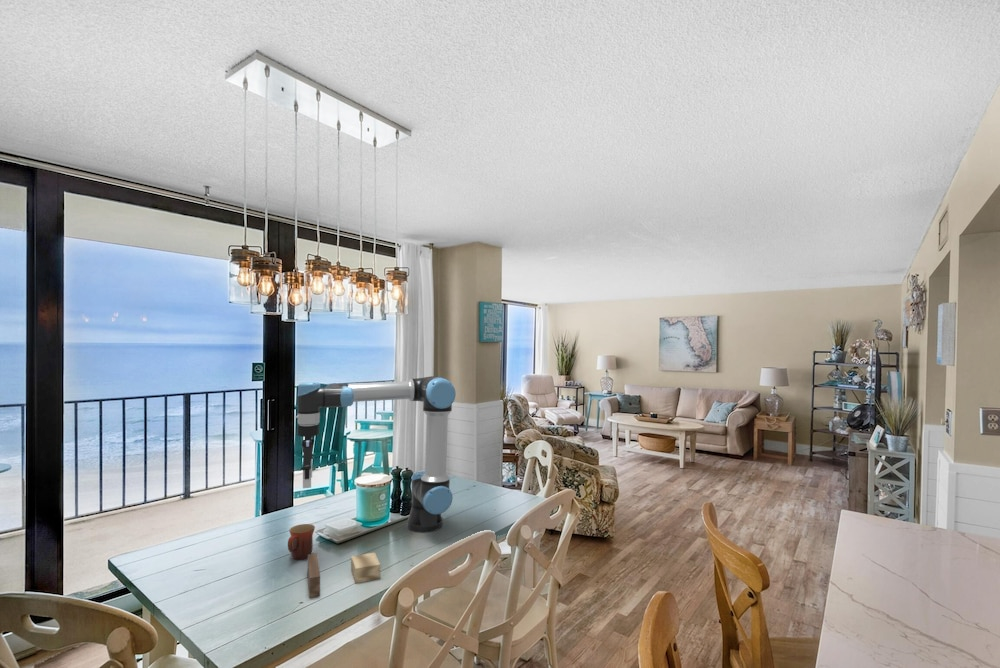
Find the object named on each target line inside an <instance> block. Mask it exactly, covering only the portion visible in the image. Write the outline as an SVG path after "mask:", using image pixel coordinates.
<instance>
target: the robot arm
mask: <svg viewBox="0 0 1000 668" xmlns="http://www.w3.org/2000/svg"><path fill="white" fill-rule="evenodd" d="M456 394H457V393H456V388H455V386H454V384H453V383H452V382H451V381H449V380H448V379H446V378H444V377H437V376H425V377H418V378H417V377H416V378H409V380H405V381H384V382H383V381H382V382H381V381H380V382H358V383H357V382H355V383H351V382H350V383H335V382H334V383H329V384H327V385H326V386H325V387H323V386H321V383H320V382H319V381H303V382H301V383H299V384H298V388H297V415H296V416H295V418H296V419H297V424H298V425H297V426H296V428H297V429H296V432H297V433H296V434H297V436H298V437H304V439H302V441H301V443H302V444H301V445H302V453H303V460H302V461H303V464H302V465H303V466H302V467H301V468H300V471H302V489H309V488H312V478H313V460H315V456H314V455H313V452H314V445H315V439H313V437H316V436H318V435H320V419H321V412H320V411H321V410H320V408H345V407H351V406H352V405H353V404H354V403H358V402H375V401H393V400H394V401H395V400H409V401H410V402H422V404H423V405H422V406H423V408H422V410H423V411H422V412H424V414H426V426H425V427H426V428H425V454H424V457H425V460H424V461H425V462H424V470H422V471H416V472H414V473H413V474H412V477H411V509H410V512H409V515H408V518H407V524H406V526H407V529H408V530H410V531H411V532H418V533H428V532H434V531H437V530H439V529H441V528H442V527H443V523H444V522H443V517H442V514H443V513H445V512H446V511H448V510H449V509H450V507H451V506H452V503H453V499H454V497H453V493H452V491H451V489H450V478H451V477H450V476H449V475H448V474H447V457H448V456H447V453H448V452H447V451H448V421H449V419H448V418H449V414H450V413H452V409H453V403H454V402H455V400H456Z"/></svg>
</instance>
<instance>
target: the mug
mask: <svg viewBox="0 0 1000 668" xmlns="http://www.w3.org/2000/svg"><path fill="white" fill-rule="evenodd" d="M315 528H316V525H314V524H311V523H305V524H304V523H302V524H298V525H294V526H291V527H290V528H289V535H290V536H289V538H288V540H287V549H288V551H289V553H290V556H291V558H292V559H293V560H297V561H301V560H305V559H308V554H313V548H314V547H313V545H314V544H313V543H314V542H313V535H314V532H315Z"/></svg>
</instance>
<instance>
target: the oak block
mask: <svg viewBox="0 0 1000 668" xmlns="http://www.w3.org/2000/svg"><path fill="white" fill-rule="evenodd" d="M350 558H351V559H350V561H351V562H350V563H351V565H350V571H351V575H352V578H353V580H354V584H358V583H359V584H360V583H363V582H364V583H365V582H369V581H374V580H380V579H381V564H380V561H379V559H378V556H377V554H376V552H370V553H364V554H363V553H362V554H357V555H351V557H350Z"/></svg>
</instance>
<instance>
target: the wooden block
mask: <svg viewBox="0 0 1000 668" xmlns="http://www.w3.org/2000/svg"><path fill="white" fill-rule="evenodd" d="M318 556H319V555H318V552H316V553H312V554H308V558H307V584H308V596H309V599H311V598H316V597H320V596H321V574H320V572H321V571H320V566H319V565H320V564H319V557H318Z"/></svg>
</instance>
